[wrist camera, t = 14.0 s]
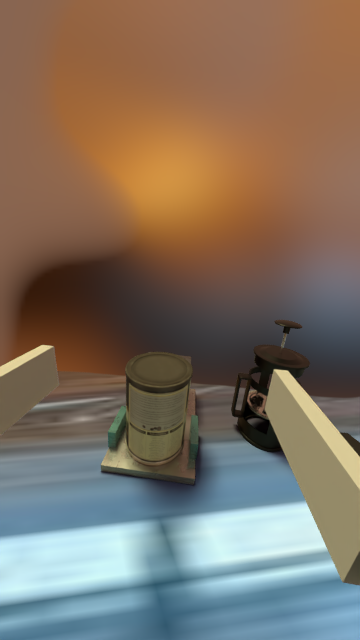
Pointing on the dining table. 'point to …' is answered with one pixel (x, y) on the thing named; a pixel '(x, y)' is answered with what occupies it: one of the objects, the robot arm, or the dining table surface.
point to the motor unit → (172, 471)
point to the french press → (256, 400)
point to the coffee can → (156, 406)
